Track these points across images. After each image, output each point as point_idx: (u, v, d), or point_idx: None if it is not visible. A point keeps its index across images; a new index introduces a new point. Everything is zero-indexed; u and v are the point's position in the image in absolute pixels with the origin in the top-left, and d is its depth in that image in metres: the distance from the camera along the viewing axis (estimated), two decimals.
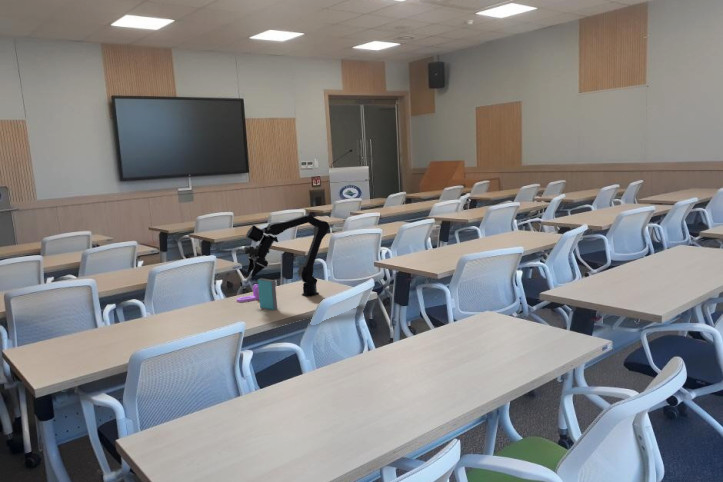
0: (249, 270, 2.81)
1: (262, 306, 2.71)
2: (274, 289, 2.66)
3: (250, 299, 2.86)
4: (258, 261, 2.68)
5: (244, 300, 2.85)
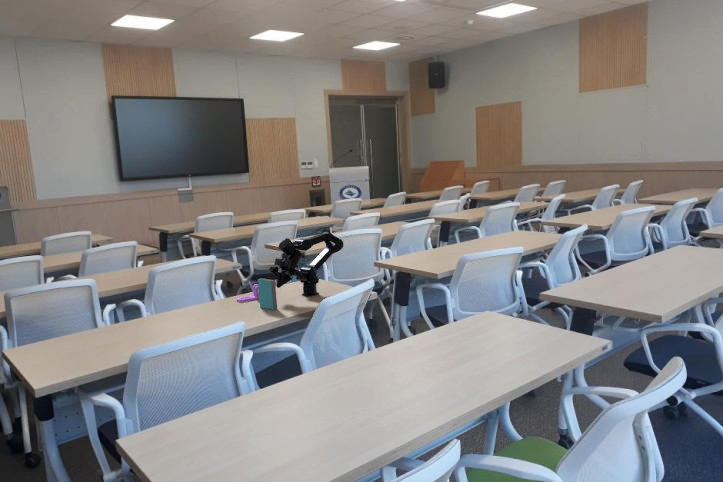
0: None
1: (262, 306, 2.71)
2: (274, 289, 2.66)
3: (250, 299, 2.86)
4: (296, 273, 2.70)
5: (244, 300, 2.85)
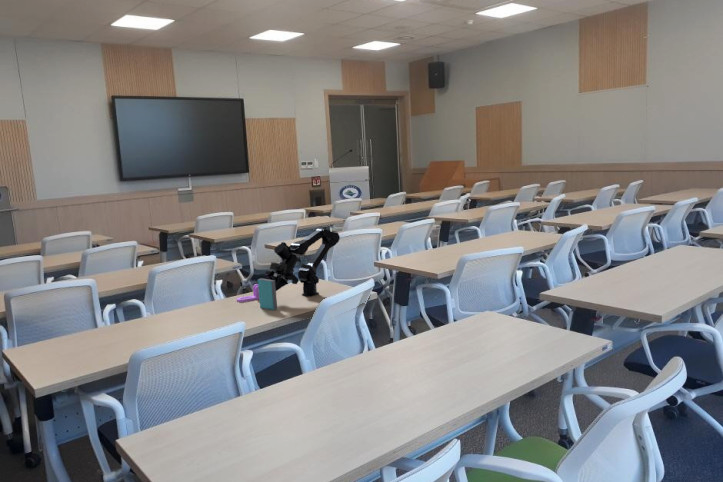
0: None
1: (262, 306, 2.71)
2: (274, 289, 2.66)
3: (250, 299, 2.86)
4: (292, 277, 2.68)
5: (244, 300, 2.85)
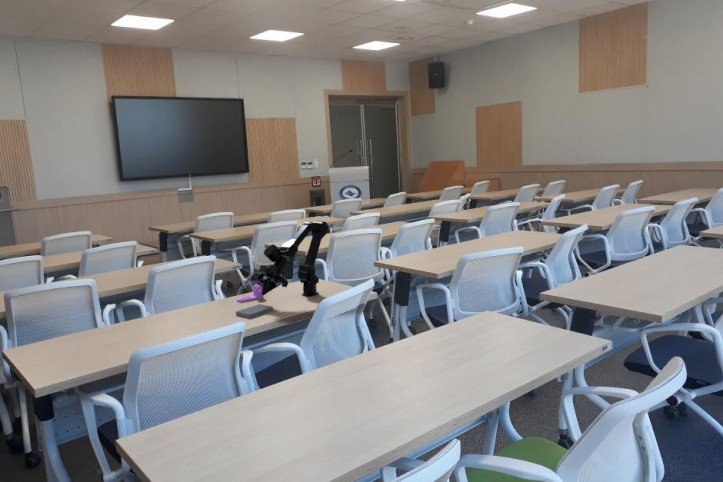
0: None
1: None
2: (257, 313, 2.58)
3: (250, 299, 2.86)
4: (281, 280, 2.63)
5: (244, 300, 2.85)
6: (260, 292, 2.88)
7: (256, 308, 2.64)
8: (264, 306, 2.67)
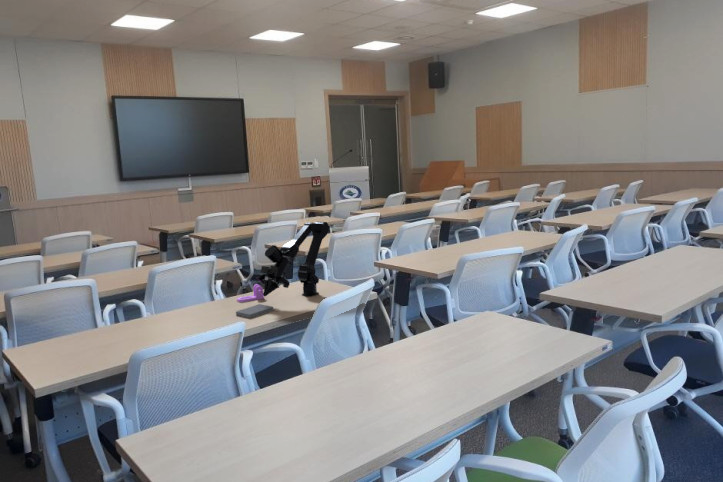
0: None
1: None
2: (257, 313, 2.58)
3: (251, 299, 2.86)
4: (283, 281, 2.64)
5: (245, 300, 2.85)
6: (260, 292, 2.88)
7: (256, 308, 2.64)
8: (264, 306, 2.67)
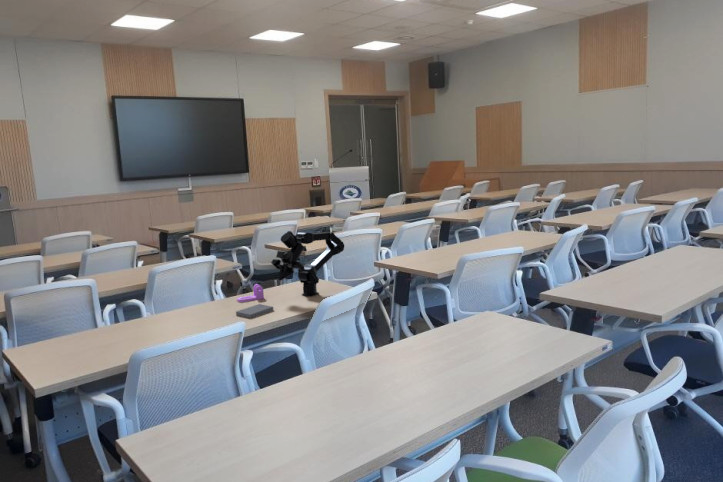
0: None
1: None
2: (257, 313, 2.58)
3: (251, 299, 2.86)
4: (298, 265, 2.70)
5: (245, 300, 2.85)
6: (260, 292, 2.88)
7: (256, 308, 2.64)
8: (264, 306, 2.67)
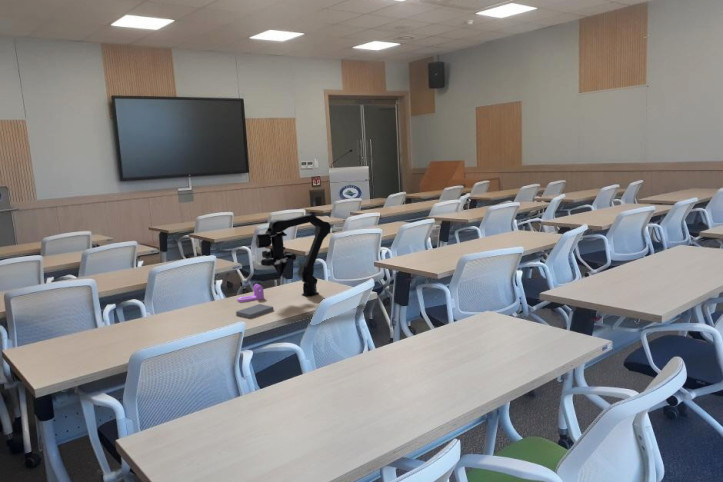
0: None
1: None
2: (257, 313, 2.58)
3: (251, 299, 2.86)
4: (261, 263, 2.75)
5: (245, 300, 2.85)
6: (260, 292, 2.88)
7: (256, 308, 2.65)
8: (264, 306, 2.67)
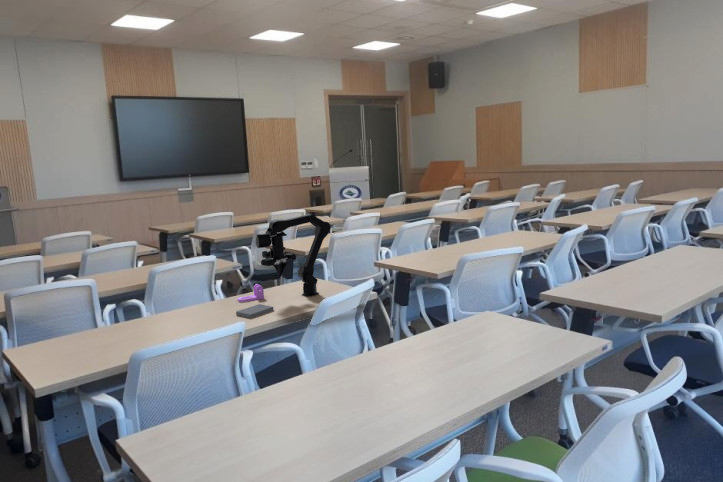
0: None
1: None
2: (257, 313, 2.58)
3: (251, 299, 2.86)
4: (261, 263, 2.75)
5: (245, 300, 2.85)
6: (261, 292, 2.88)
7: (256, 308, 2.65)
8: (264, 306, 2.67)
